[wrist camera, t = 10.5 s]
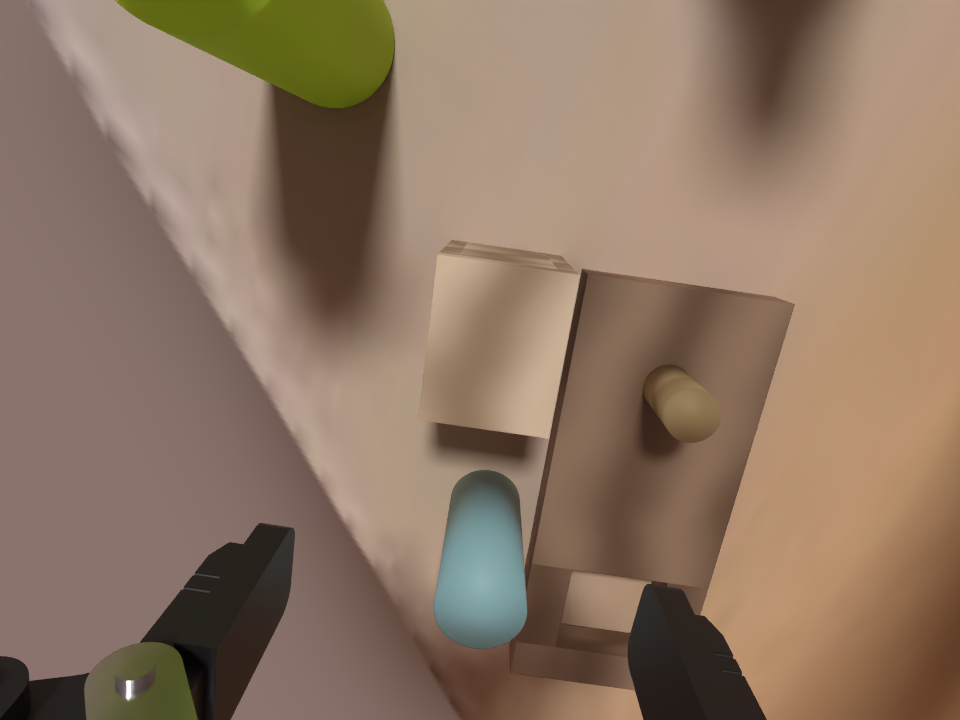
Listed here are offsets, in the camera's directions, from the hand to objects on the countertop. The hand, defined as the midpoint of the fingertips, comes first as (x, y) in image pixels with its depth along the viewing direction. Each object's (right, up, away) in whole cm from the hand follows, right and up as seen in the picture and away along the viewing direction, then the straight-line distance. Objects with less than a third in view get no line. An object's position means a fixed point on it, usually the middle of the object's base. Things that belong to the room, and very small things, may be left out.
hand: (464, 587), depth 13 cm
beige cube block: (+1, +7, +17) cm, 19 cm away
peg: (+1, -3, +20) cm, 20 cm away
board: (+9, -2, +20) cm, 22 cm away
